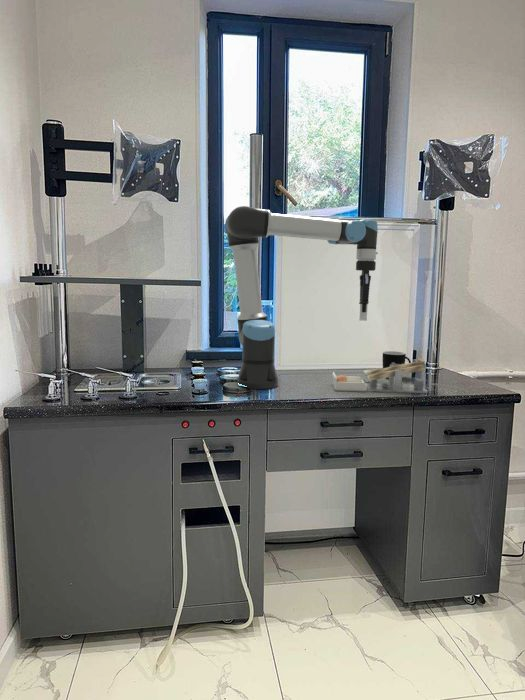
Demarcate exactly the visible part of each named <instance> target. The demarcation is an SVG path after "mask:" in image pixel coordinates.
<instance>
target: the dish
mask: <svg viewBox="0 0 525 700" xmlns="http://www.w3.org/2000/svg"><path fill="white" fill-rule="evenodd" d="M338 376H339V375H336V373H335V372H334V371H332V376H331V377H332V378H331V379H332V380H331V384H332V386H333V389H334V391H335V392H336V391H339V392H341V391H342V392H343V391H344V392H345V391H346V392H368V391H367V385H366V384H365V383H366V382H365V381H364V379H363V378H362V377H361V376H353V375H349V376H346V375H345V376H346V378H347V382H337V377H338Z"/></svg>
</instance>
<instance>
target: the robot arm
mask: <svg viewBox="0 0 525 700" xmlns="http://www.w3.org/2000/svg"><path fill="white" fill-rule="evenodd" d="M224 227H225V232H226V234H227V242H228V243H227V245H228V248H229V249H231V251H232V252H233V261H234V268H235V269H234V271H235V275H236V276H235V277H236V278H235V279H236V286H237V294H238V302H239V311H240V313H239V315H238V317H237V318H236V319H237V329H238V331H237V332H238V333H237V337H238V341H239V343H240V345H241V346H242V355H241V356H242V358H241V359H242V361H241V362H242V364H241V366H240V367H241V368H240V370H239V373H238V376H237V381H236V382H238V383H239V384H242V385H245V386H247V387H248V388H247V389H250V390H253V389H254V390H266V389H273V388H277V387H278V386H279V377H278V374H277V371H276V368H275V367H276V366H275V339H276V337H275V336H276V329H275V324H274V323H273V322H272V321H270V320H269V321H268V315H267V314H266V313H265V312H264V311H263V305H262V296H261V295H262V294H261V285H260V275H259V267H258V266H259V265H258V259H257V247H258V246H259V245H260V242H259V241H260V239H259V238H266V239H267V238H268V237H269V236H275V237H286V238H287V237H289V238H299V239H311V240H322V241H327V242H328V244H331V245H352V246H353V245H354V246H355V245H356V254H355V255H356V256H355V257H356V263H355V264H356V265H355V266H356V267H355V270H356V271H361V275H360V274H359V302H358V304H359V321H365V322H366V321H367V319H368V305H369V303H370V302H369V299H370V298H369V297H370V296H369V295H370V286H371V279H372V275H370V272H371V271H372V272H373V271H376V263H377V261H375V260H376V258H377V255H378V251H377V244H378V243H377V242H378V233H379V232H378V229H379V228H378V222H377V220H376V219H360V220H357V219H356V220H355V219H353V220H343V219H334V218H324V217H316V216H314V217H312V216H303V215H294V214H283V213H282V214H281V213H274V212H273V213H272V212H271V210H270V209H263V208H258V207H252V206H248V205H247V206H246V205H244V206H238V207H235V208H234V209H233V210H231V212H230V213H229V215H228V216H227V217H226V219H225V224H224Z"/></svg>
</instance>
